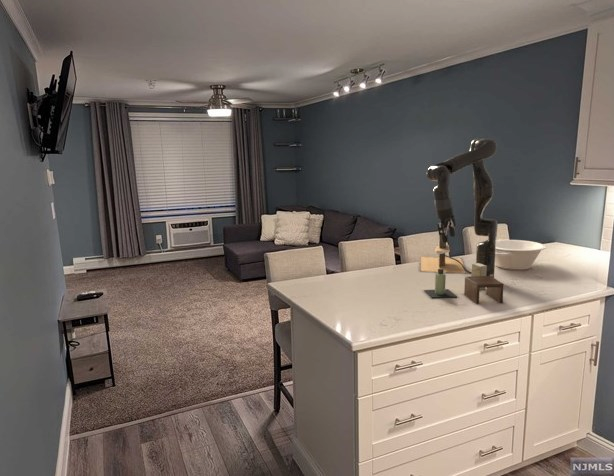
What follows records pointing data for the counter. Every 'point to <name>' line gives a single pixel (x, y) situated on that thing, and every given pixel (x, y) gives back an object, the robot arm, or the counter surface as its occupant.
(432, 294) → the mat
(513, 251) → the white wash basin
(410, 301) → the counter surface
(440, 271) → the bottle
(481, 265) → the cosmetic box
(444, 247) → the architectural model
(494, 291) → the shelf
